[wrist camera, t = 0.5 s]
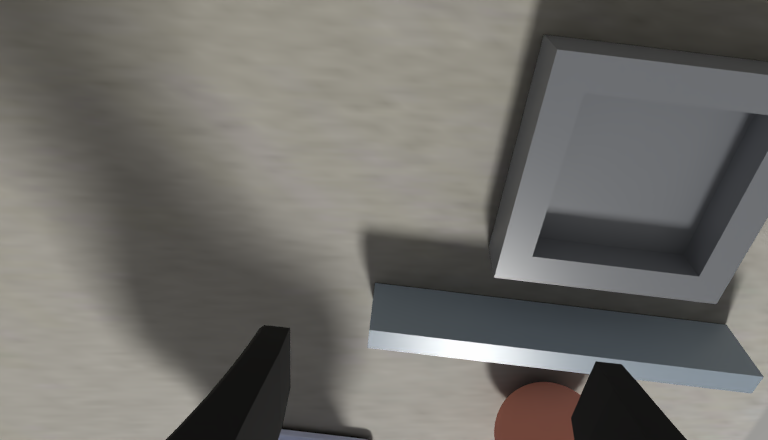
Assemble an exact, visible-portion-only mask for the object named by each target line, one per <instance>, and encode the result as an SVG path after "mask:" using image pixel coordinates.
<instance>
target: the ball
mask: <svg viewBox="0 0 768 440" xmlns="http://www.w3.org/2000/svg"><path fill="white" fill-rule="evenodd" d="M580 396H581V395H580V394H578V393H577V392H575V391H574V390H572V389H570V388H568V387H566V386H563V385H560V384H557V383H552V382H535V383H531V384H527V385H525V386H522V387H520V388H518V389H517V390H515V391H514V392H513V393H512V394H510V395H509V396H508V397H507V398H506V400H505V401H504V402H503V404H502V405H501V407H500V410H499V412H498V414H497V418H496V422H495V429H494V437H495V440H574V434H573V428H572V422H571V417H572V414H573V412H574V410H575V407H576V405H577V403H578V401H579V398H580Z"/></svg>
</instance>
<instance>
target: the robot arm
mask: <svg viewBox="0 0 768 440" xmlns="http://www.w3.org/2000/svg"><path fill="white" fill-rule="evenodd" d="M289 391H290V328H284V327H275V326H266V325H264V326H263V327H261V328H260V329H259V330H258V332H257V333H256V335H255V336H254V338H253V339H252V340H251V342H250V343H249V345H248V346H247V347H246V349H245V350H244V351H243V353H242V354H241V355H240V357H239V358H238V359H237V360H236V362H235V363H234V364H233V366H232V367H231V368H230V369H229V371H228V372H227V373H226V374H225V375H224V377H223V378H222V379H221V380H220V381H219V383H218V384H217V385H216V386H215V387H214V388H213V390H212V391H211V392H210V393H209V394H208V396H207V397H206V398H205V399H204V400H203V401H202V402H201V403H200V404H199V405H198V407H197V408H196V409H195V410H194V411H193V412H192V413H191V414H190V415H189V416H188V417H187V418H186V419H185V420H184V422H183V423H182V424H181V425H180V426H179V427H178V428H177V429H176V430H175V431H174V432H173V433H172V434H171V435H170V436H169V437H168V438H167V439H166V440H367V439H361V438H353V437H344V436H336V435H327V434H319V433H310V432H302V431H293V430H285V429H282V424H283V420H284V415H285V411H286V406H287V401H288V396H289ZM571 422H572V428H573V434H574V440H687V439H686V438H685V437H684V436H683V435H682V434H681V433H680V431H679V430H678V429H677V428H676V427H675V426H674V425H673V423H672V422H671V421H670V420H669V419H668V418H667V417H666V415H665V414H664V413H663V412H662V411H661V410H660V408H659V407H658V406H657V405H656V404H655V403H654V401H653V400H652V399H651V398H650V397H649V395H648V394H647V393H646V392H645V391H644V390H643V388H642V387H641V386H640V385H639V384H638V382H637V381H636V380H635V379H634V378H633V377H632V375H631V374H630V373H629V372H628V371H627V370H626V369H625V367H624V366H623V365H622V364H616V363H607V362H597V361H596V362H595V364H594V366H593V368H592V371H591V373H590V375H589V378H588V380H587V382H586V384H585V387H584V389H583V391H582V394H581V396H580V398H579V401H578V403H577V405H576V407H575V410H574V412H573V414H572V417H571Z"/></svg>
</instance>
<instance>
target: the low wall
mask: <svg viewBox="0 0 768 440" xmlns="http://www.w3.org/2000/svg"><path fill="white" fill-rule="evenodd" d="M367 348H374V349H382V350H391V351H399V352H408V353H416V354H424V355H433V356H441V357H450V358H458V359H467V360H475V361H483V362H492V363H500V364H509V365H517V366H526V367H534V368H542V369H551V370H559V371H568V372H576V373H585V374H590V373H591V371H592V368H593V366H594V364H595V362H596V361H597V362H607V363H616V364H622V365H623V366H624V367H625V369H626V370H627V371H628V372H629V373H630V374H631V375H632V377H633V378H634V379H635V380H643V381H652V382H660V383H669V384H677V385H686V386H694V387H702V388H711V389H719V390H728V391H736V392H745V393H752V392H753V391H754V389H755V388H756V387H757V385H758V384H759V383H760V381H761V380H762V378H763V375H762V374H761V373H760V371H759V370H758V368H757V367H756V366H755V364H754V363H753V361H752V360H751V359H750V357H749V356H748V354H747V353H746V352H745V350H744V349H743V347H742V346H741V345H740V343H739V342H738V340H737V339H736V338H735V336H734V335H733V333H732V332H731V331H730V329H729V328H728V326H727V325H724V324H715V323H707V322H699V321H690V320H682V319H673V318H665V317H657V316H648V315H640V314H632V313H623V312H615V311H606V310H598V309H590V308H581V307H573V306H564V305H556V304H548V303H539V302H531V301H523V300H514V299H506V298H497V297H489V296H481V295H472V294H464V293H455V292H447V291H439V290H430V289H422V288H414V287H405V286H397V285H388V284H380V283H375V288H374V296H373V304H372V313H371V321H370V330H369V338H368V347H367Z"/></svg>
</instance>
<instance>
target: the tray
mask: <svg viewBox="0 0 768 440" xmlns="http://www.w3.org/2000/svg"><path fill="white" fill-rule="evenodd" d="M767 218H768V62H766V61H757V60H749V59H741V58H733V57H725V56H716V55H708V54H700V53H692V52H683V51H675V50H667V49H659V48H651V47H642V46H634V45H626V44H618V43H609V42H601V41H593V40H585V39H577V38H568V37H560V36H552V35H544V36H543V40H542V44H541V48H540V51H539V55H538V59H537V63H536V67H535V71H534V75H533V78H532V82H531V86H530V90H529V94H528V98H527V102H526V105H525V109H524V113H523V117H522V121H521V125H520V128H519V132H518V136H517V140H516V144H515V148H514V152H513V155H512V159H511V163H510V167H509V171H508V175H507V179H506V182H505V186H504V190H503V194H502V198H501V202H500V206H499V209H498V213H497V217H496V221H495V225H494V229H493V233H492V236H491V240H490V244H489V248H488V249H489V254H490V259H491V264H492V269H493V274H494V278H502V279H510V280H518V281H527V282H535V283H544V284H552V285H560V286H569V287H577V288H585V289H594V290H602V291H611V292H619V293H627V294H636V295H644V296H652V297H661V298H669V299H678V300H686V301H694V302H703V303H711V304H717V302H718V301H719V299H720V297H721V296H722V294H723V292H724V291H725V289H726V287H727V285H728V284H729V282H730V280H731V279H732V277H733V275H734V274H735V272H736V270H737V268H738V267H739V265H740V263H741V262H742V260H743V258H744V257H745V255H746V253H747V252H748V250H749V248H750V246H751V245H752V243H753V241H754V240H755V238H756V236H757V235H758V233H759V231H760V230H761V228H762V226H763V224H764V223H765V221H766V219H767Z"/></svg>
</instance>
